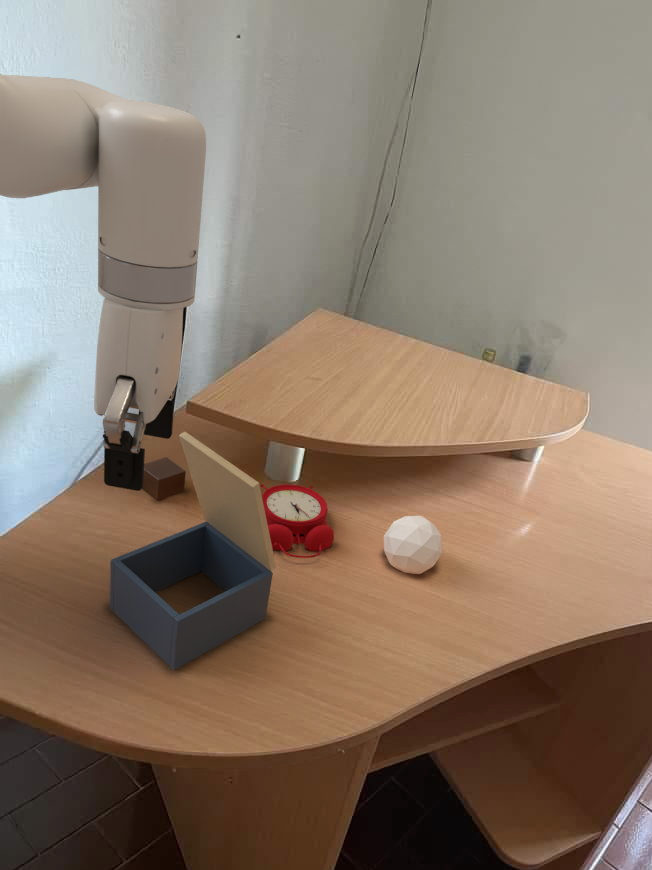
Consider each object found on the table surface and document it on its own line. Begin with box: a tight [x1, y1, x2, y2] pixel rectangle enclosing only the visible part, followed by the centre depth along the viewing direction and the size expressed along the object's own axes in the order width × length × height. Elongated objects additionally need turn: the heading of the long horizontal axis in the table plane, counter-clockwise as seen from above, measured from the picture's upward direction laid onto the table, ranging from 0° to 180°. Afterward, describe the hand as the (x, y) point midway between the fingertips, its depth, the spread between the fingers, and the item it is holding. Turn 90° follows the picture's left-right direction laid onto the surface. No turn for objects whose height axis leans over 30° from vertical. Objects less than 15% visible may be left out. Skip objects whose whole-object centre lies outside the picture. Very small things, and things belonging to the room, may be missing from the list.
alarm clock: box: [260, 483, 335, 559], centre depth 94 cm, size 10×6×15 cm
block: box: [141, 456, 187, 502], centre depth 96 cm, size 4×4×4 cm
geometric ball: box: [383, 515, 443, 575], centre depth 92 cm, size 8×8×8 cm
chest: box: [109, 521, 274, 671], centre depth 75 cm, size 12×11×8 cm
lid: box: [178, 431, 277, 572], centre depth 73 cm, size 13×11×1 cm
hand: (140, 459), depth 64 cm, fingers open, 9 cm apart
